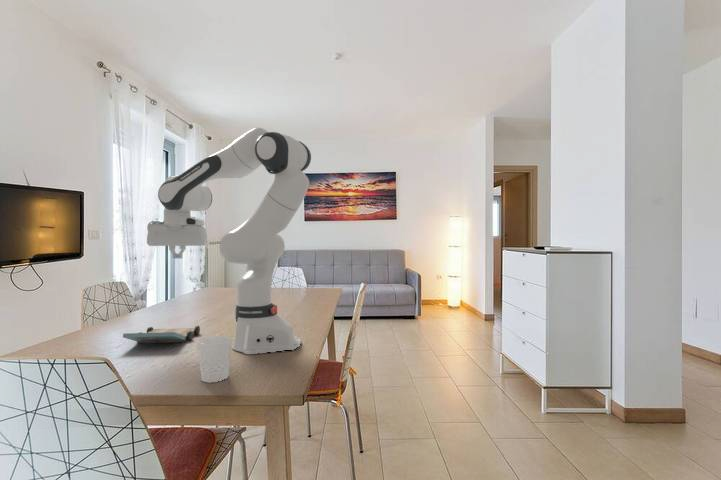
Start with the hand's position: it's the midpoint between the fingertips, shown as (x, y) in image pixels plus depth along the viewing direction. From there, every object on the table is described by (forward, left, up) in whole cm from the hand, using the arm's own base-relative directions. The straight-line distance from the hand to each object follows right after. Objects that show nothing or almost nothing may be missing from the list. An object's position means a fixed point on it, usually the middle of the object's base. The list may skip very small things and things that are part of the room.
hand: (177, 258), depth 136 cm
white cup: (-25, +42, -29) cm, 57 cm away
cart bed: (+3, 0, -29) cm, 29 cm away
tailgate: (+3, +7, -28) cm, 29 cm away
